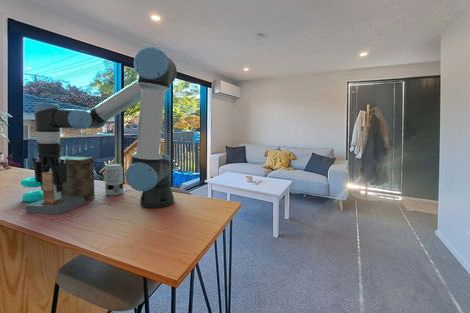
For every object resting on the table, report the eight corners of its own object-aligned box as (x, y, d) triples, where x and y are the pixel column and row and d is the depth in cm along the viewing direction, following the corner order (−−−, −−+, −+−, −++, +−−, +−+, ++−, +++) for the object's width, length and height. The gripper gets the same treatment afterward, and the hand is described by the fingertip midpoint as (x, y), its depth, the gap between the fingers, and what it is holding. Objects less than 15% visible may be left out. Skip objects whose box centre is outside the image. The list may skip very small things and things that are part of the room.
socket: (84, 203, 108) (84, 196, 107) (59, 214, 94) (58, 207, 93) (55, 201, 109) (54, 195, 108) (26, 212, 95) (25, 205, 94)
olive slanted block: (94, 198, 114) (93, 157, 112) (82, 204, 106) (79, 160, 103) (63, 196, 116) (60, 155, 113) (48, 202, 107) (45, 158, 105)
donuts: (52, 175, 115) (42, 180, 106) (54, 195, 116) (44, 202, 107) (27, 176, 112) (15, 181, 103) (29, 196, 114) (17, 203, 104)
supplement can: (102, 193, 122) (101, 165, 120) (116, 190, 130) (116, 163, 128) (112, 196, 119) (111, 167, 117) (126, 192, 126) (126, 164, 124)
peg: (53, 206, 97) (51, 173, 95) (44, 206, 97) (41, 172, 95) (61, 203, 101) (59, 171, 99) (52, 203, 101) (50, 170, 99)
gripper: (76, 142, 99) (78, 197, 102) (37, 140, 100) (41, 194, 103) (61, 144, 91) (64, 203, 94) (20, 142, 92) (24, 200, 95)
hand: (52, 198), depth 99 cm, fingers closed on peg, 4 cm apart
